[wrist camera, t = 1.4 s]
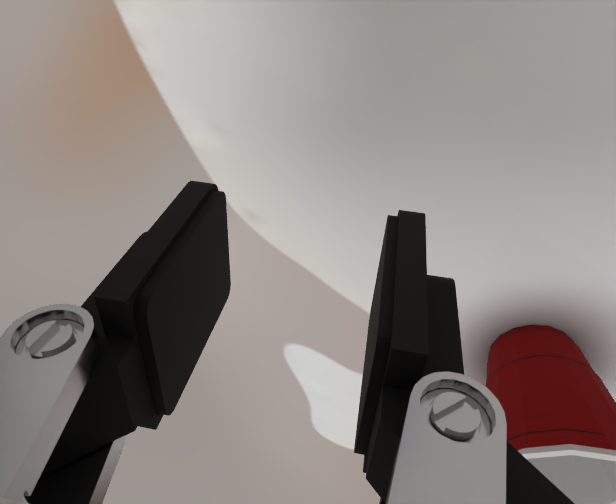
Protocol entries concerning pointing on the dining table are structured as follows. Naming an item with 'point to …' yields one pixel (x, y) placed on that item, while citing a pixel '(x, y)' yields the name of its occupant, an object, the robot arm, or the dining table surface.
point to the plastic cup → (556, 411)
